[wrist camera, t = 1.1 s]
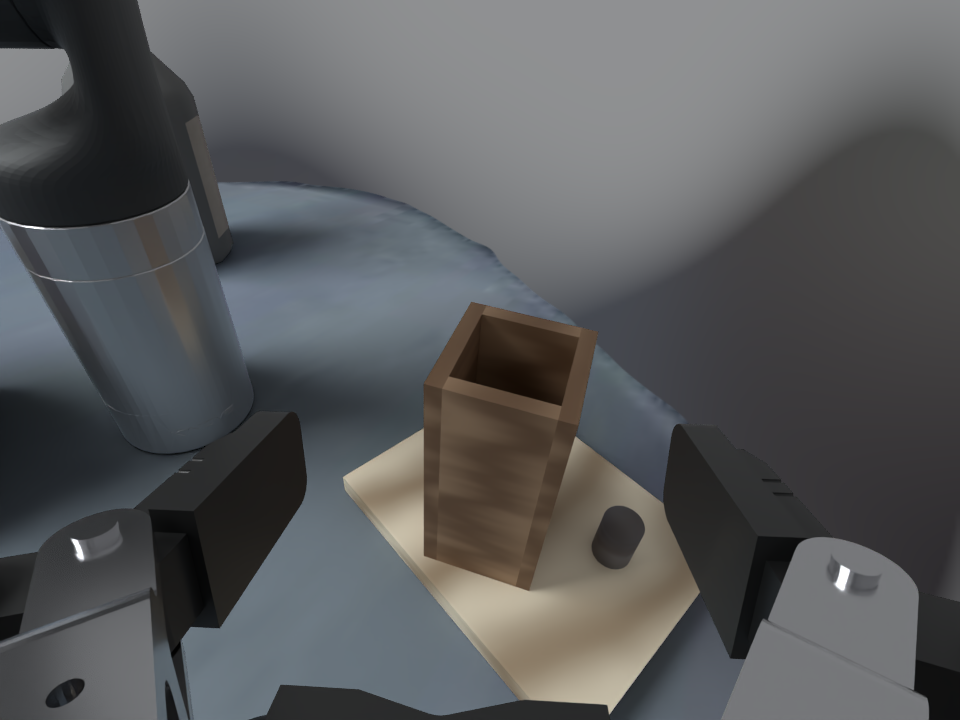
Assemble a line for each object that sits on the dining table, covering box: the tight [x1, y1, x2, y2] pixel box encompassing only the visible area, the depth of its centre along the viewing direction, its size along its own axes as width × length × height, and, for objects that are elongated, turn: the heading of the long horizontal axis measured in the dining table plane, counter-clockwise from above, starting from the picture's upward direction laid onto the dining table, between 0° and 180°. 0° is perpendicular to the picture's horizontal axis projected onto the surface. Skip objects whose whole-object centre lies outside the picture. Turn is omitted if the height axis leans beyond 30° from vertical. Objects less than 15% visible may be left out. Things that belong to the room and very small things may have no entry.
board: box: [343, 428, 700, 714], centre depth 32 cm, size 20×15×4 cm
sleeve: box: [424, 302, 598, 591], centre depth 27 cm, size 6×6×14 cm
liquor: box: [61, 52, 233, 264], centre depth 46 cm, size 9×9×30 cm
